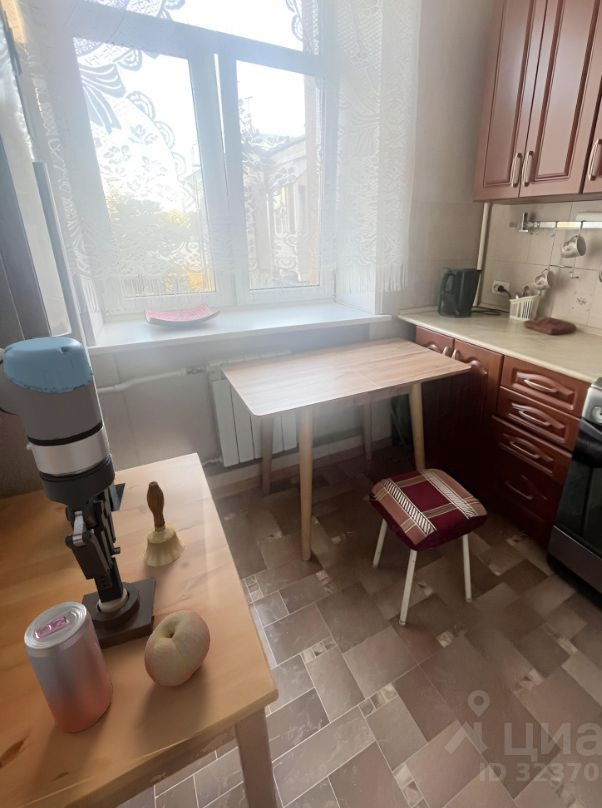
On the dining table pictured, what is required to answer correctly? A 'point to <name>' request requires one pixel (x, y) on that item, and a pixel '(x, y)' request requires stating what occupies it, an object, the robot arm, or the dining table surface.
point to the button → (113, 603)
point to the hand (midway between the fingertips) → (112, 596)
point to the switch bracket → (115, 495)
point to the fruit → (176, 648)
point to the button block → (124, 614)
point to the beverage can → (69, 665)
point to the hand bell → (160, 532)
